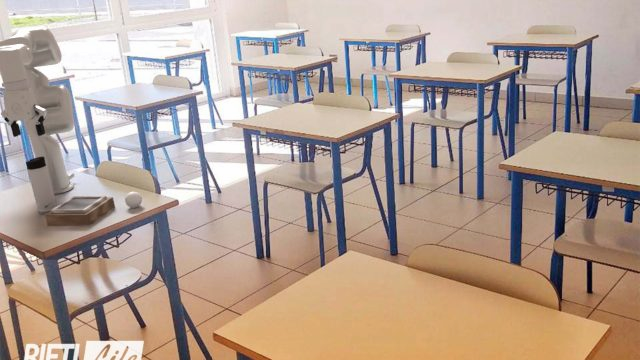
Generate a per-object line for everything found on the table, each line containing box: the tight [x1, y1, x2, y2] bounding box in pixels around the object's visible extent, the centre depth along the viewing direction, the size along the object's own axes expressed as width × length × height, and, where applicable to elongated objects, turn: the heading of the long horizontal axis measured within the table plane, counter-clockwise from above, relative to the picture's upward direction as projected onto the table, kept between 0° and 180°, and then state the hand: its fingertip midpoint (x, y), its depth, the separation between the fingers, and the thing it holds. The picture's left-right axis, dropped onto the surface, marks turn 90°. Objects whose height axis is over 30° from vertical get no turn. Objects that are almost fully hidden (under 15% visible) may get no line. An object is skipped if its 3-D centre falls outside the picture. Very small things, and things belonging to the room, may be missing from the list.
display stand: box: [44, 195, 116, 227], centre depth 218 cm, size 16×16×5 cm
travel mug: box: [25, 156, 58, 215], centre depth 225 cm, size 6×7×20 cm
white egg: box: [124, 191, 143, 209], centre depth 223 cm, size 8×6×6 cm
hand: (29, 135), depth 219 cm, fingers open, 9 cm apart
